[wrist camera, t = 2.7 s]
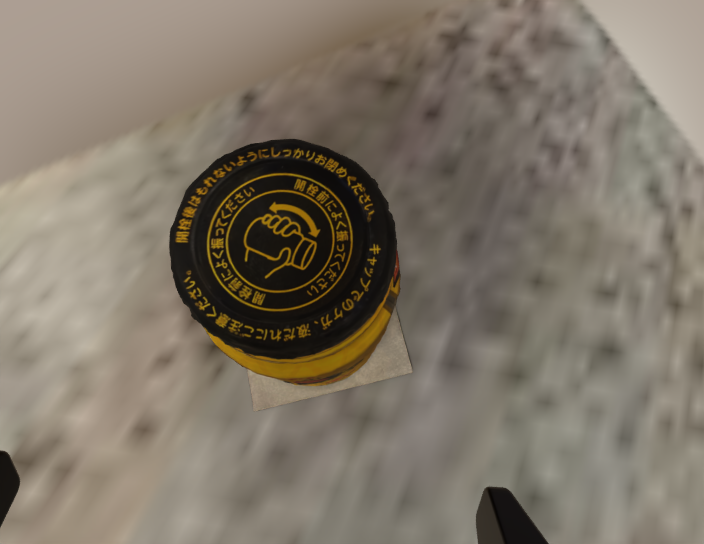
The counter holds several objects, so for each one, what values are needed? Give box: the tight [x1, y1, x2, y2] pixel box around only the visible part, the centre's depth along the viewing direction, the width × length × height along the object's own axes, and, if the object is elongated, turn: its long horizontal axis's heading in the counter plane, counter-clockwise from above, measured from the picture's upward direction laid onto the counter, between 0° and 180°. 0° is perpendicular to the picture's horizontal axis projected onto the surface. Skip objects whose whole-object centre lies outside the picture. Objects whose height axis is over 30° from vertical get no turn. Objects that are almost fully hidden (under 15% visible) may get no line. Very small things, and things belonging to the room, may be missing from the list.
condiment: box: [169, 139, 413, 412], centre depth 16 cm, size 7×8×12 cm
